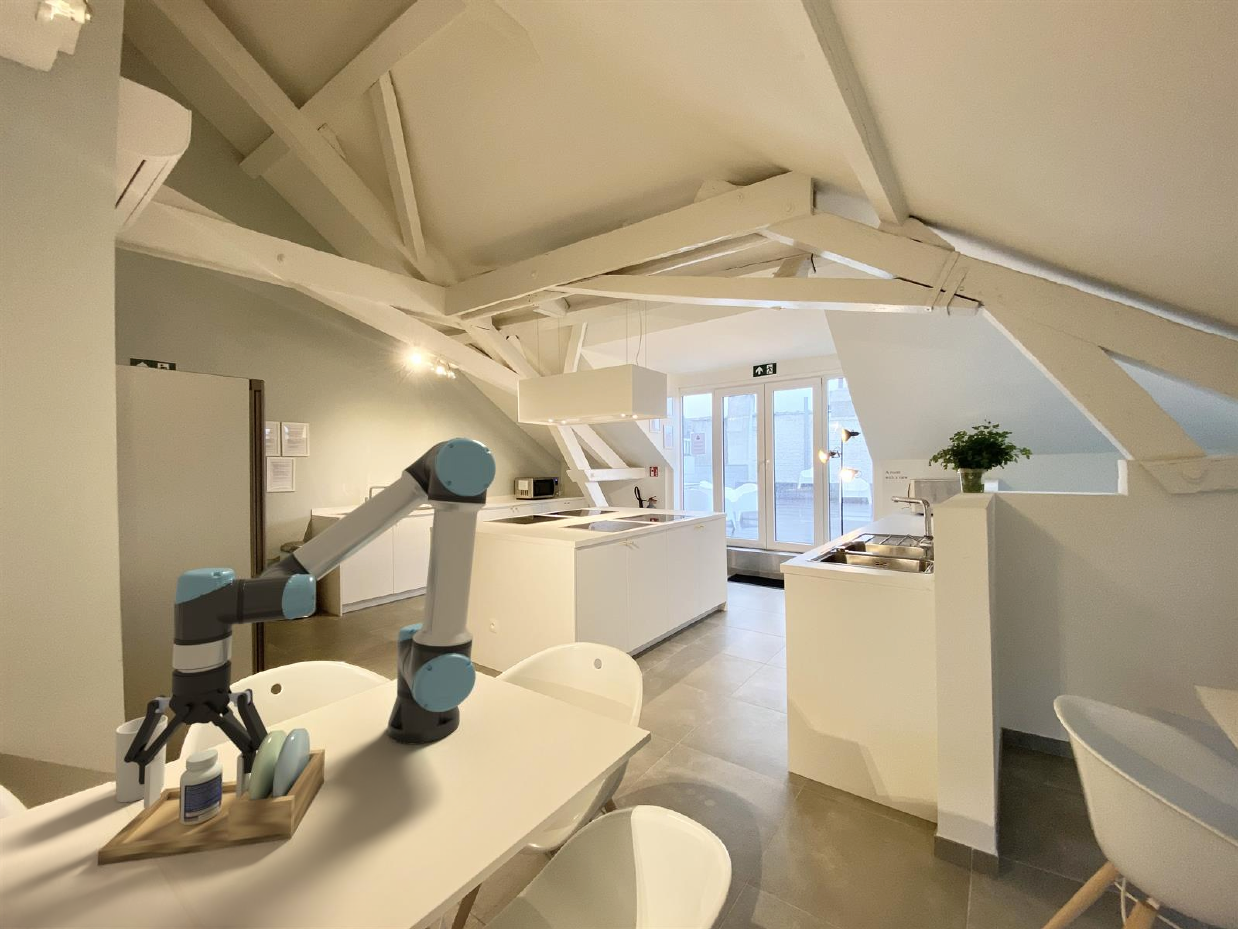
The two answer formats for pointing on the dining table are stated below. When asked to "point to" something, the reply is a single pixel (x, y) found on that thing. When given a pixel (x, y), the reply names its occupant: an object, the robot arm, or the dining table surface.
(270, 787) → the plate sage
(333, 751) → the dining table surface
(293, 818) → the dish rack
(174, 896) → the dining table surface
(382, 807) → the dining table surface
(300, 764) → the plate blue
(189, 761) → the pill bottle
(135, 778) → the mug
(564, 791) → the dining table surface
